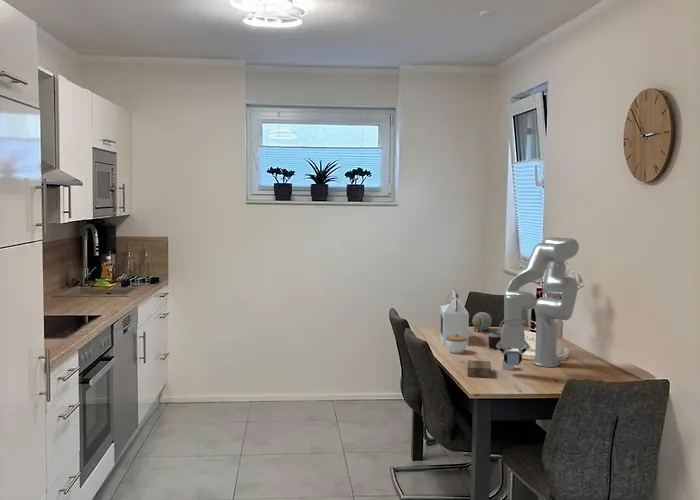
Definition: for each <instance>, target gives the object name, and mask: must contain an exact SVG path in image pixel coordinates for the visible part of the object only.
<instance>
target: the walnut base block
mask: <svg viewBox="0 0 700 500" xmlns="http://www.w3.org/2000/svg"><path fill="white" fill-rule="evenodd" d="M466 374H467V376H469V377H470V378H471V377H472V378H474V377H475V378H485V379H486V378H488V379H491V378H492V367H491V361H490V360H488V361H487V360H471V359H468V360H467V373H466Z"/></svg>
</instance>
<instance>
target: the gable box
mask: <svg viewBox="0 0 700 500" xmlns="http://www.w3.org/2000/svg"><path fill="white" fill-rule="evenodd" d="M459 296H460V294H459V292H458V290H456V289H455V288H452V293H449V294H448V296H447V297H446V299H445V300H443V302H442V304H441V305H440V308H439V309H440V313H439V314H440V315H439V317H440V319H439V338H440V341H441V344H442V346H445V347H447V346H446V336H448V335H456V334H458V335H462V336H466V337H467V345H466V347H469V330H470V329H469V328H470V327H469V326H470V325H469V324H470V322H469V321H470V320H469V319H470V313H469V311H468V309H466V308H465V306H464V303H462V301H461V299H460V298H459Z"/></svg>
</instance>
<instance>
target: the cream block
mask: <svg viewBox="0 0 700 500" xmlns="http://www.w3.org/2000/svg"><path fill="white" fill-rule="evenodd" d="M514 367H515V365H507V363H506V362H505V361H504V355H503V356H501V370H504V371H514V369H515V368H514Z"/></svg>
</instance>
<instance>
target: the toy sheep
mask: <svg viewBox="0 0 700 500" xmlns="http://www.w3.org/2000/svg"><path fill="white" fill-rule="evenodd" d="M492 321H493V318H492V316H491V315H490V314H489V313H487V312H483V311H480V312H477V313H475V314H474V315H473V317H472V324H473V332H477V330H479V332H480V333H483V331H486V330H487V331H489V330H490V327H491V325H492Z"/></svg>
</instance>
